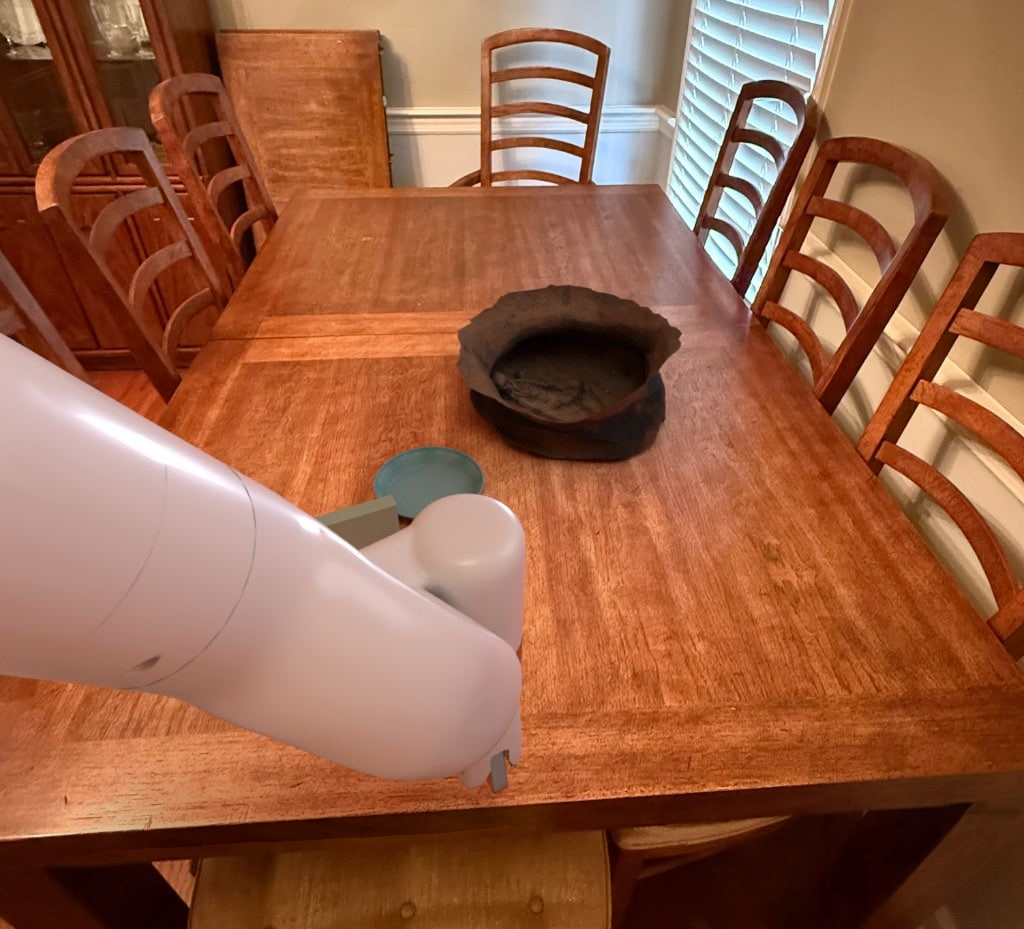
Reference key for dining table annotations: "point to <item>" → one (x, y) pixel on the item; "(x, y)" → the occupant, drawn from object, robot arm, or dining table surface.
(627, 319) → the bowl
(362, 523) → the wall
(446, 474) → the saucer
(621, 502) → the dining table surface
